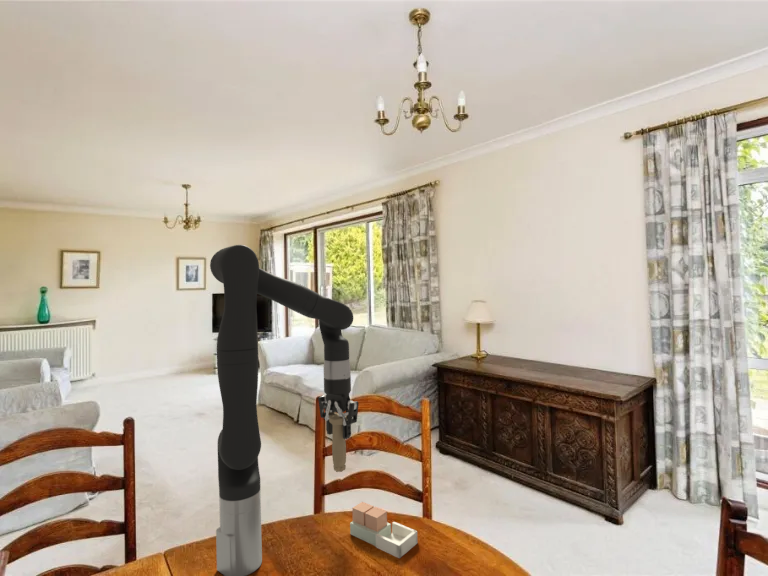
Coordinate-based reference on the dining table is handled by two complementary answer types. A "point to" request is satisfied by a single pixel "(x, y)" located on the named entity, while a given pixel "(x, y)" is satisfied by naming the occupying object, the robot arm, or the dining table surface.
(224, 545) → the robot arm
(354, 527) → the pale green flat block
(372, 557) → the dining table surface
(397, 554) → the tray
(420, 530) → the dining table surface
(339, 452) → the handle
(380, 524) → the salmon cube
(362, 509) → the pink cube
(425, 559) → the dining table surface
